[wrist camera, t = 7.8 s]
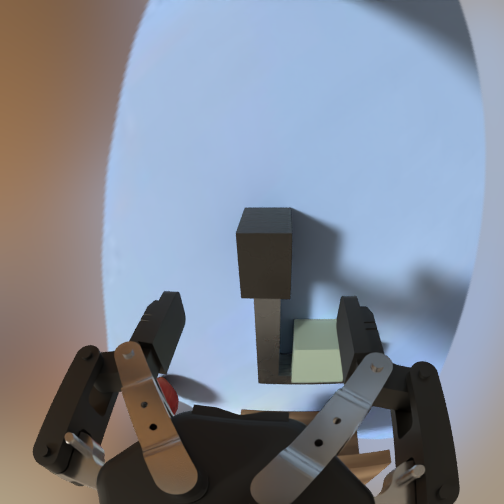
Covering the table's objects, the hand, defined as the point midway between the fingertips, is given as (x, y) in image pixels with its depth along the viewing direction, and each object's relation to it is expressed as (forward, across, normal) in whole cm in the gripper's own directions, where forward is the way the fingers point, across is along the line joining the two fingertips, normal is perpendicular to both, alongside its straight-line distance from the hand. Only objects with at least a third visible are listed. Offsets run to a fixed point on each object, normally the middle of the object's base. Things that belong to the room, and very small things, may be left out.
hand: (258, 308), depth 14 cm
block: (+9, -5, +12) cm, 16 cm away
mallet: (+9, -4, +7) cm, 12 cm away
